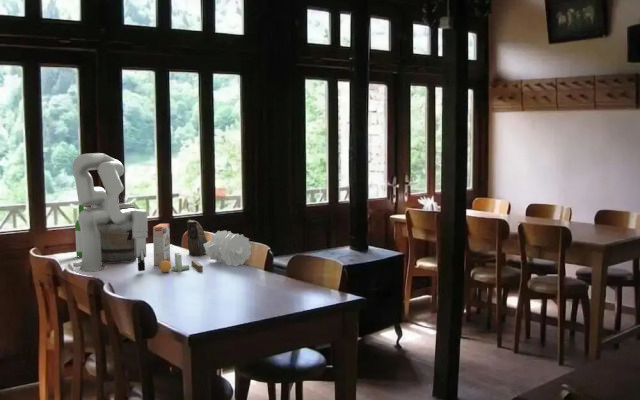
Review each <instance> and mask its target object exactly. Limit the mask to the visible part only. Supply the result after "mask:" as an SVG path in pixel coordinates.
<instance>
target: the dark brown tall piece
mask: <svg viewBox="0 0 640 400" xmlns="http://www.w3.org/2000/svg"><path fill="white" fill-rule="evenodd" d="M186 225H187V226H186V228H187V235H186V236H187V249H188V254H189V255H188V256H192V257H198V258H199V257H200V258H202V257H203V256H208V255H207V254H206V253H205V252H206V251H205V248H204V245H203V244H205V243H207V242H209V241H208V240H207V237H206V234H205V231H204V229H203V227H202V225H201V224H200V223H199V222H198V221H196V220H193V219H192V220H191V219H189V220H187V221H186Z"/></svg>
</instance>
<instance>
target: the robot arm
mask: <svg viewBox="0 0 640 400" xmlns="http://www.w3.org/2000/svg"><path fill="white" fill-rule="evenodd" d="M71 165H72V166H71V167H72V174H73V177H74V182H75V187H76V193H77V200H78V203H79V205H80V204H81V205H82V206H84V207H91V206H93V207H94V208H92V207H91V208H87V209H84V210H83V211H82V212H81V213H80V214H79V213H78V216H77V217H78V218H77V220H78V221H79V225H80V230H81V242H82V258H81V259H82V260H81V261H79V262H73V264H72V266H73V267H74V268H79V271H80V270H82V271H81V272H98V271H97V270H99V271H103V270H105V269H106V266H105V265H103V263H102V256H101V236H100V232H99V230H98V228H97V226H99V225H104V224H106V223H108V222H109V220H110V218H111V220H112V221H113V222H114V223H115V224H116V225H125V224H130V223H132V238H134V255H135V257H136V259H137V271H138V272H144V271H146V264H145V263H146V262H145V258H146V257H147V238H148V237H149V233H148V232H149V229H148V228H149V227H148V213H147V210H146V209H136V208H135V209H131V208H130V209H123V210H121V209H120V207H119V205H120V204H119V201H118V199H119V196H120V193H122V192H123V191H124V189H125V188H124V185H123V183H122V180H121V178H120V177H122V176H123V175H124V173H125V166H124V165H123V164H122V162H121V161H119V160H118V159H115V158H113V157H111V156H109V155H107V154H106V153H101V152H94V153H83V154H80V155H78V156H76V157H75V158H74V159H73V161H72V164H71ZM96 170H97V173H98V176H99V178H100V180H101V182H102V185H103V187H104V188H103V187H101V186H94V180H93V179H94V178H93V176H92V175H91V173H90V172H89V171H96ZM102 269H103V270H102Z"/></svg>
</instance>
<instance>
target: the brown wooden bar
mask: <svg viewBox="0 0 640 400" xmlns="http://www.w3.org/2000/svg"><path fill="white" fill-rule="evenodd" d="M190 264H191V267H192V268H194V269H195V270H196V271H197V272H198V273H202V272H203V271H204V269H203V267H204V266H203V265H202V264H201V263H200V262H199V261H197V260H196V259H191V263H190Z"/></svg>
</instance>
